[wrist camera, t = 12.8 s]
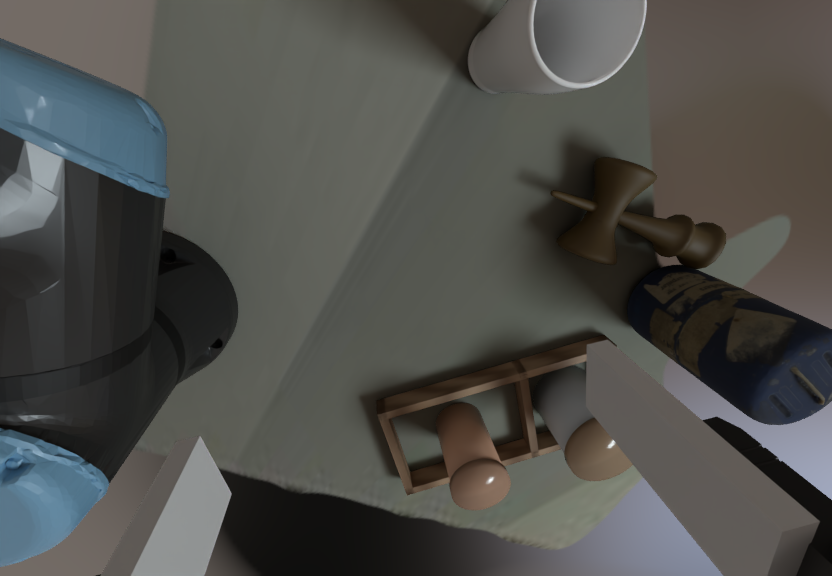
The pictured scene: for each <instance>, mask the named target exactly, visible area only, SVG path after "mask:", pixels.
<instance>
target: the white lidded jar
mask: <svg viewBox="0 0 832 576" xmlns="http://www.w3.org/2000/svg"><path fill="white" fill-rule="evenodd" d="M532 398H533V404H534V406H535V408H536V409H537V411H538V413H539V414H540V416H541V417H542V419H543V420H544V422H545V424H546V425H547V427H548V428H549V430H550V432H551V433H552V435H553V436H554V438H555V440H556V441H557V443H558V444H559V446H560V448H561V449H562V451H563V452H564V456H565V460H566V462H567V464H568V466H569V467H570V469H571V470H572V472H573V473H574V474H575V475H576V476H577V477H579V478H581V479H584V480H588V481H601V480H606V479H609V478H612V477H615V476H617V475H619V474H621V473H623V472H624V471H626V470H627V469H628V468H630V467H631V466H632V465H633V464H632V463H631V461H630V460H629V459H628V458H627V456H626V455H625V454H624V453H623V451H622V450H621V449H620V448H619V447H618V445H617V444H616V443H615V442H614V440H613V439H612V438H611V437H610V436H609V434H608V433H607V432H606V431H605V429H604V428H603V427H602V426H601V424H600V423H599V422H598V421H597V420H596V418H595V417H594V416H593V415H592V413H591V412H590V411H589V410H588V408H587V407H586V372H585V371H584V370H583V369H581V368H579V367H575V366H568V367H565V368H561V369H558V370H554V371H551V372H548V373H547V374H546V375H544V376H543V377H542V378H541V379H540V380H539V382H538V383H537V384H536V386H535V388H534V391H533V397H532Z"/></svg>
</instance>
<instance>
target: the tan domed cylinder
mask: <svg viewBox="0 0 832 576" xmlns="http://www.w3.org/2000/svg"><path fill="white" fill-rule="evenodd" d="M436 430H437V434H438V437H439V441H440V445H441V449H442V453H443V457H444V461H445V464H446V468H447V472H448V476H449V480H450V483H449V487H450V491H451V495H452V499H453V501H454V502H455V503H456V504H457V505H458V506H459V507H461V508H464V509H467V510H481V509H486V508H489V507H491V506H493V505H495V504H497V503H498V502H500V501H501V500H502V499H503V498H504V497H505V496H506V495H507V493H508V491H509V489H510V484H511V482H510V477H509V475H508V473H507V470H506V468H505V467H504V465H503V464H502V463H501V461H500V459H499V456H498V454H497V452H496V449H495V447H494V444H493V442H492V440H491V437H490V435H489V433H488V430H487V428H486V426H485V423H484V421H483V419H482V416H481V414H480V412H479V410H478V409H477V408H476V407H475V406H473V405H471V404H468V403H456V404H453V405H450V406H448V407H446V408H445V409H443V410H442V411H441V412H440V414H439V415H438V417H437V419H436Z"/></svg>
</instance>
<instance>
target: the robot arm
mask: <svg viewBox="0 0 832 576" xmlns="http://www.w3.org/2000/svg"><path fill="white" fill-rule="evenodd" d="M166 157H167V132H166V128H165V126H164V123H163V121H162V119H161V117H160V116H159V114H158V113H157V111H156V110H155V109H154V108H153V107H152V106H151V105H150V104H149V103H148V102H147V101H145V100H144V99H142V98H141V97H139V96H138V95H136V94H134V93H132V92H130V91H128V90H126V89H124V88H121V87H120V86H117V85H115V84H112V83H110V82H108V81H106V80H103V79H100V78H98V77H96V76H94V75H91V74H89V73H86V72H83V71H82V70H79V69H77V68H74V67H71V66H69V65H66V64H64V63H62V62H59V61H57V60H54V59H52V58H49V57H46V56H44V55H42V54H39V53H36V52H34V51H31V50H29V49H26V48H24V47H21V46H19V45H16V44H14V43H11V42H8V41H6V40H4V39H1V38H0V567H2V566H7V565H10V564H14V563H18V562H21V561H23V560H25V559H27V558H29V557H32V556H36V555H39V554H40V553H43V552H45V551H47V550H49V549H51V548H53V547H54V546H56V545H57V544H59V543H60V542H61V541H63V540H64V539H65V538H66V537H67V536H68V535H69V534H70V533H71V532H72V531H73V530H74V529H75V528H76V526H77V525H78V524H79V523H80V521H81V520H82V519H83V518H84V517H85V515H86V514H87V513H88V512H89V510H90V509H91V508H92V507H93V506H94V504H95V503H96V502H98V501H99V500H100V499H101V498H102V497H103V496H104V495H105V494H106V492H107V488H108V486H109V483H110V482H111V480H112V479H113V477H114V476H115V475H116V473H117V471H118V470H119V468H120V467H121V466H122V464H123V463H124V461H125V460H126V458H127V457H128V455H129V454H130V452H131V451H132V449H133V448H134V447H135V445H136V444H137V442H138V441H139V439H140V438H141V436H142V435H143V433H144V432H145V430H146V429H147V427H148V426H149V424H150V423H151V421H152V420H153V419H154V417H155V416H156V414H157V413H158V411H159V410H160V408H161V407H162V405H163V404H164V402H165V401H166V399H167V398H168V396H169V395H170V393H171V392H172V390H173V389H174V387H175V386H176V385H177V384H178V383H180V382H182V381H183V380H185V379H187V378H188V377H190V376H192V375H193V374H195V373H196V372H198V371H200V370H201V369H203V368H204V367H206V366H207V365H209V364H210V363H211V362H212V361H213V360H215V359H216V358H217V357H218V355H219V354H220V353H221V352H222V351H223V349H224V348H225V346H226V344H227V343H228V341H229V339H230V338H231V336H232V334H233V332H234V329H235V327H236V323H237V318H238V303H237V298H236V294H235V291H234V288H233V286H232V283H231V281H230V280H229V278H228V276H227V275H226V273H225V272H224V270H223V269H222V268H221V266H220V265H219V264H218V263H217V262H216V261H215V260H214V259H213V258H212V257H211V256H210V255H209V254H207V253H206V252H205V251H204V250H202V249H201V248H199V247H198V246H196V245H195V244H193V243H191V242H189V241H187V240H185V239H183V238H181V237H179V236H176V235H173V234H170V233H167V232H163V231H162V230H163V220H164V210H165V200H166V198H169V194H170V192H169V188H168V187H167V186H166ZM586 407H587V408H588V410H589V411H590V412H591V413H592V415H593V416H594V417H595V418H596V420H597V421H598V422H599V423H600V424H601V426H602V427H603V428H604V429H605V431H606V432H607V433H608V434H609V436H610V437H611V438H612V439H613V440H614V442H615V443H616V444H617V445H618V447H619V448H620V449H621V450H622V451H623V453H624V454H625V455H626V456H627V458H628V459H629V460H630V461H631V463H632V464H633V465H634V466H635V467H636V469H637V470H638V471H639V472H640V474H641V475H642V476H643V477H644V479H645V480H646V481H647V482H648V483H649V485H650V486H651V487H652V488H653V489H654V490H655V492H656V493H657V494H658V496H659V497H660V498H661V499H662V501H663V502H664V503H665V504H666V506H667V507H668V508H669V509H670V510H671V512H672V513H673V514H674V515H675V517H676V518H677V519H678V520H679V521H680V523H681V524H682V525H683V526H684V528H685V529H686V530H687V531H688V533H689V534H690V535H691V536H692V537H693V539H694V540H695V541H696V542H697V544H698V545H699V546H700V547H701V549H702V550H703V551H704V552H705V553H706V555H707V556H708V557H709V558H710V560H711V561H712V562H713V563H714V564H715V566H716V567H717V568H718V569H719V571H721V573H722V574H723V575H724V576H832V500H831V499H829V498H828V497H827V496H826V495H824V494H823V493H822V492H821V491H819V490H818V489H817V488H816V487H814V486H813V485H812V484H811V483H809V482H808V481H807V480H805V479H804V478H803V477H802V476H800V475H799V474H798V473H797V472H795V471H794V470H793V469H791V468H790V467H789V466H788V465H787V464H785V463H784V462H783V461H782V462H780V461H779V459H778V457H776V456H775V455H774V454H773V453H771V452H770V451H769V450H768V449H766V448H763V447H762V446H761V444H760V443H759V442H758V441H756V440H755V439H753V438H752V437H751V436H750V435H749V434H747V433H746V432H745V431H743V430H742V429H741V428H739V427H737V426H735V425H733V424H731V423H729V422H727V421H724V420H723V419H720V418H718V417H714V418H710V419H706V420H701V419H700V418H699V417H697V416H696V415H695V414H694V413H693V412H692V411H690V410H689V409H688V408H687V407H686V406H685V405H683V404H682V403H681V402H680V401H679V400H677V399H676V398H675V397H674V396H673V395H672V394H671V393H669V392H668V391H667V390H666V389H665V388H664V387H662V386H661V385H660V384H659V383H658V382H657V381H655V380H654V379H653V378H652V377H651V376H650V375H648V374H647V373H646V372H645V371H644V370H643V369H641V368H640V367H639V366H638V365H637V364H636V363H634V362H633V361H632V360H631V359H630V358H629V357H627V356H626V355H625V354H624V353H623V352H622V351H620V350H619V349H618V348H617V347H616V346H615V345H613V344H612V343H611V342H610V341H609V340H604V341H600V342H596V343H592V344H587V362H586ZM230 497H231V492H230V490H229V488H228V486H227V484H226V483H225V481H224V479H223V477H222V475H221V474H220V472H219V470H218V468H217V466H216V464H215V462H214V460H213V459H212V457H211V455H210V453H209V451H208V449H207V448H206V446H205V444H204V442H203V440H202V438H201V437H200V436H197V437H193V438H188V439H184V440H180V441H176V442H175V444H174V446H173V447H172V449H171V451H170V453H169V455H168V456H167V458H166V460H165V462H164V464H163V465H162V467H161V469H160V471H159V472H158V474H157V476H156V478H155V480H154V481H153V483H152V485H151V487H150V489H149V490H148V492H147V494H146V496H145V497H144V499H143V501H142V503H141V504H140V506H139V508H138V510H137V512H136V513H135V515H134V517H133V519H132V521H131V522H130V524H129V526H128V528H127V529H126V531H125V533H124V535H123V536H122V538H121V540H120V542H119V544H118V545H117V547H116V549H115V551H114V553H113V554H112V556H111V558H110V560H109V561H108V563H107V565H106V567H105V569H104V570H103V572H102V574H100V575H96V576H204V575H205V572H206V569H207V566H208V563H209V560H210V557H211V554H212V551H213V548H214V545H215V542H216V539H217V536H218V533H219V530H220V527H221V524H222V521H223V518H224V515H225V512H226V509H227V506H228V503H229V500H230Z"/></svg>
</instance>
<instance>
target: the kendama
mask: <svg viewBox="0 0 832 576" xmlns="http://www.w3.org/2000/svg"><path fill="white" fill-rule="evenodd" d="M594 173H595V192H594V196H593V199H592V201H589V200H586V199H583V198H580V197H577V196H574V195H570V194H567V193H564V192H560V191H555V190H553V191H551V195H552V196H553V197H555V198H557V199H560V200H562V201H564V202H567V203H569V204H572V205H574V206H577V207H579V208H582V209H584V210H587V212H586V214H585V215H584V218H583V219H582V220H581V221H580V222H579V223H578V224H577V225H575V226H574V227H573V228H571V229H570V230H568V231H567V232H565V233H564V234H563V235H561V236H560V237H559V238H558V239H557V241H556V242H557V244H558V245H559V246H561V247H562V248H564V249H565V250H567V251H569V252H571V253H574V254H576V255H578V256H581V257H583V258H586V259H589V260H592V261H594V262H598V263H602V264H607V265H615V264H616V263H617V254H616V247H615V238H614V234H615V229H616V227H617V224H619V225H621V226H623V227H626V228H628V229H630V230H631V231H633V232H635V233H637V234H639V235H641V236H642V237H644V238H646V239H648V240H649V241H651V242H652V243H653V247H654V249H655V251H656V252H657V253H658V254H659V255H661V256H664V257H672V256H676V257H677V258H678V260H679V262H680V263H681V264H683V265H684V266H686V267H688V268H694V269H700V268H705V267H707V266H709V265H710V264H712V263H713V262H715V260H716V259H717V258H718V257H719V256H720V254H721V253H722V251H723V249H724V246H725V244H726V233H725V232H724V230H723V229H722V227H720V226H718V225H716V224H714V223H707V222H702V223H699V224H696V225H695V224H694V222H693V221H692V219H691V218H689V217H687V216H685V215H674V216H671V217H669V218H667V219H662V218H656V217H650V216H645V215H640V214H635V213H631V212H627V211H624V210H625V208H626V207H627V205H628V204H629V203H630V202H631V201H632V200H633V199H634V198H635V197H636V196H637V195H639V194H640V193H641V192H642V191H644V190H645V189H646V188H648V187H649V186H650V185H651V184H653V183H654V182H655V180H656V179H657V175H656V174H655V173H654V172H653V171H651V170H649V169H647V168H645V167H643V166H641V165H638V164H635V163H632V162H629V161H625V160H621V159H617V158H610V157H601V158H598V159H597V160H596V161H595V165H594Z"/></svg>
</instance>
